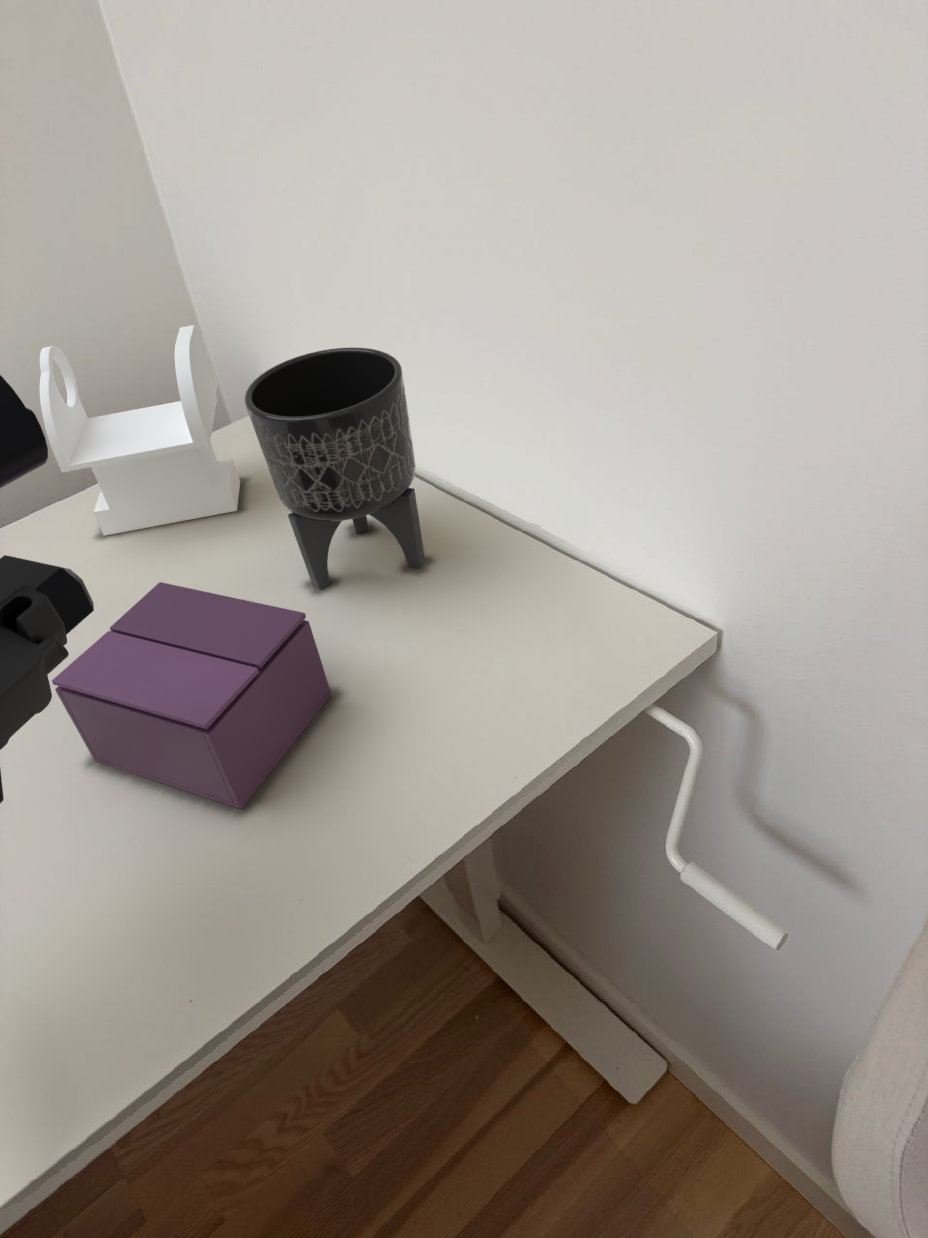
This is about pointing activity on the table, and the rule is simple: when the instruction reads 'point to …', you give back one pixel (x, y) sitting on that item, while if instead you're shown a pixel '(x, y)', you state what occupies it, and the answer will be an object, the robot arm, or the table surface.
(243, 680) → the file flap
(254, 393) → the planter
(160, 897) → the table surface
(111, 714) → the box
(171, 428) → the tape dispenser
